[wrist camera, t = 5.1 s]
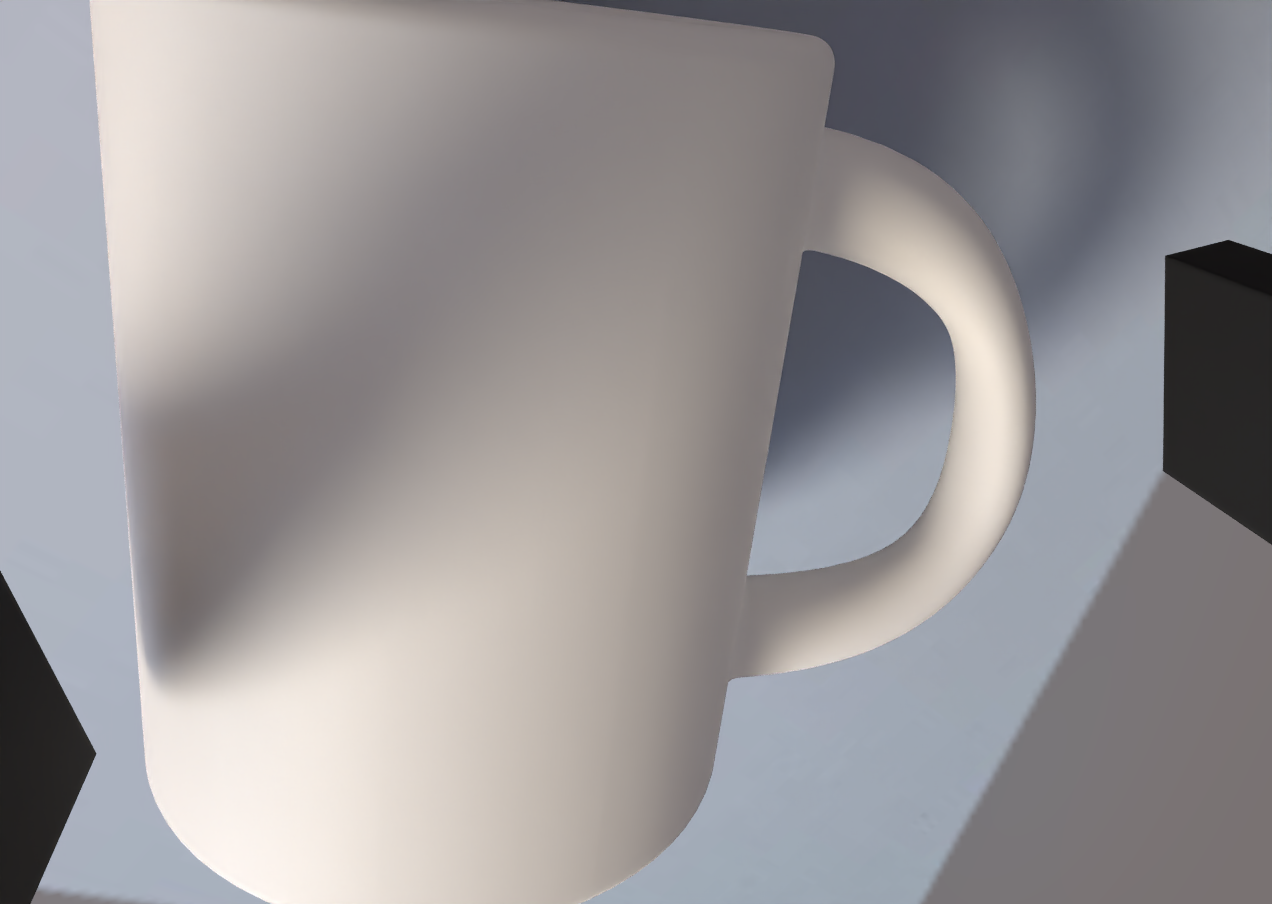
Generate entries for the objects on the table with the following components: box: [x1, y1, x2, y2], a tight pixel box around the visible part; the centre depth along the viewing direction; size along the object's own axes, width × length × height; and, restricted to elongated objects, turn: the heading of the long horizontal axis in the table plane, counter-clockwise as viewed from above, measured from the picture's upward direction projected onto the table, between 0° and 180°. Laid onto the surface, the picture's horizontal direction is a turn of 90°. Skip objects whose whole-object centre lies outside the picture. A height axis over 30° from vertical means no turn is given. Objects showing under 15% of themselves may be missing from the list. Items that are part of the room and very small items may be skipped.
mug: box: [90, 0, 1036, 904], centre depth 14 cm, size 12×10×8 cm
